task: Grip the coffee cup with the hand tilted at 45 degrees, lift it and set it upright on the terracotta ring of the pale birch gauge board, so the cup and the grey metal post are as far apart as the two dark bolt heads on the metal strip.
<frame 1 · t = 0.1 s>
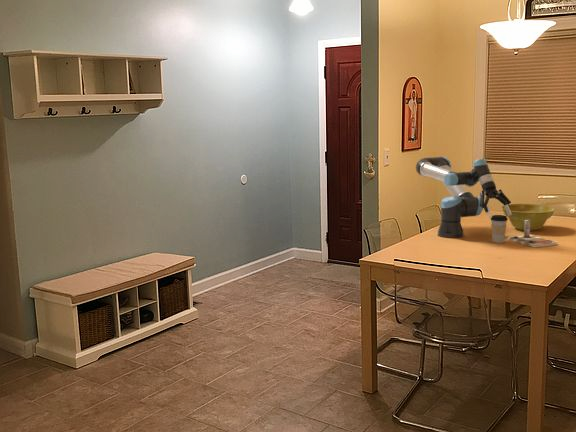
hand: (500, 216, 356), 15 cm above the table, tool tilted 35°, fingers open, 13 cm apart
gauge board: (531, 242, 358), on the table
planter bowl: (527, 228, 395), on the table
coffee cup: (498, 242, 361), on the table
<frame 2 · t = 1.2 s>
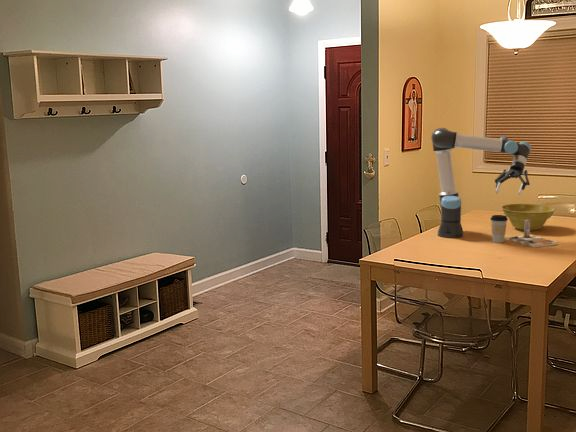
hand: (507, 192, 364), 27 cm above the table, tool tilted 45°, fingers open, 13 cm apart
nothing on the table moved.
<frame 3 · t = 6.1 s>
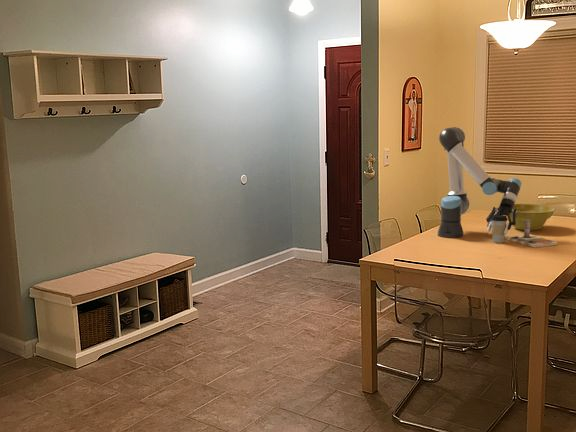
hand: (496, 232, 357), 6 cm above the table, tool tilted 45°, fingers closed on coffee cup, 9 cm apart
coffee cup: (498, 242, 361), on the table, touching gripper
everything else where it was.
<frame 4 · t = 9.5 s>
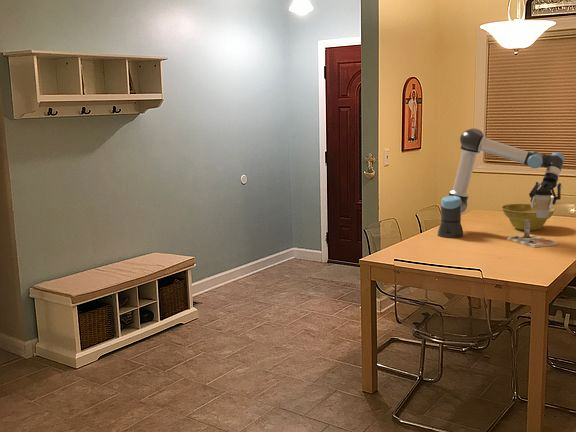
hand: (540, 207, 346), 21 cm above the table, tool tilted 45°, fingers closed on coffee cup, 9 cm apart
coffee cup: (542, 217, 350), point 15 cm above the table, touching gripper
everything else where it was.
when the fingers open (8 cm above the table, at t = 13.5 s): coffee cup stays where it is, resting on gauge board.
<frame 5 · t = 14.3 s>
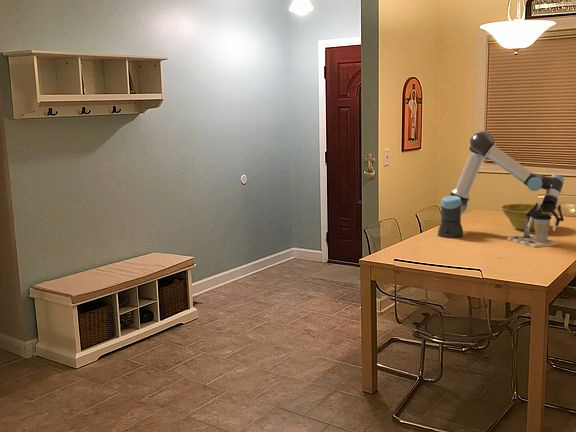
hand: (540, 228, 349), 9 cm above the table, tool tilted 45°, fingers open, 13 cm apart
coffee cup: (541, 241, 352), point 2 cm above the table, touching gauge board
everything else where it was.
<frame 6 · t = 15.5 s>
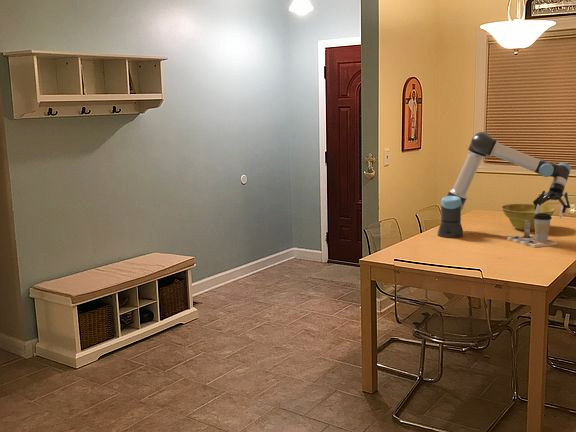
hand: (547, 215, 354), 15 cm above the table, tool tilted 45°, fingers open, 13 cm apart
nothing on the table moved.
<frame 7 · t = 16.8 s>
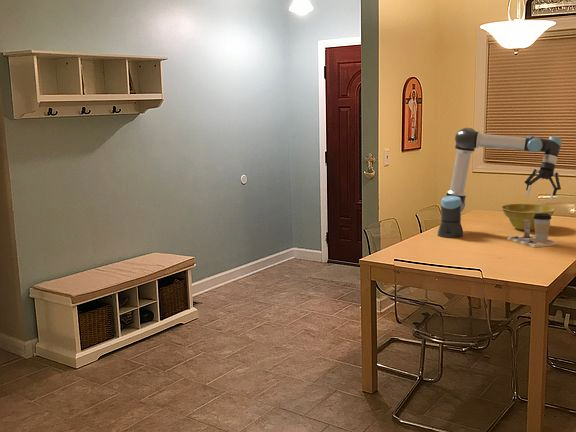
hand: (538, 198, 362), 24 cm above the table, tool tilted 20°, fingers open, 13 cm apart
nothing on the table moved.
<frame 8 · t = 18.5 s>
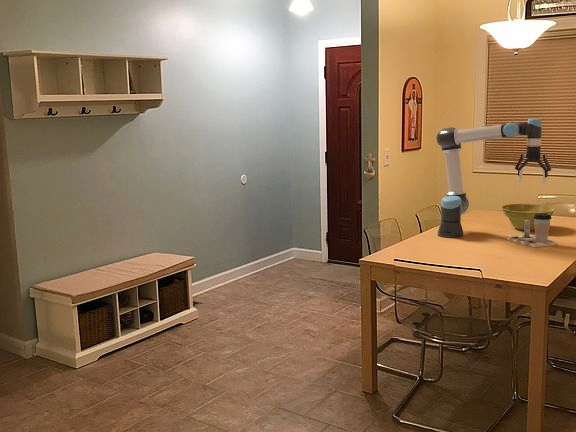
hand: (532, 182, 365), 33 cm above the table, tool pointing down, fingers open, 13 cm apart
nothing on the table moved.
at the end: coffee cup 0.1 cm from the target spot on the gauge board, point 1.5 cm above the gauge board's base; coffee cup tilted 1°; the gripper is holding nothing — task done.
